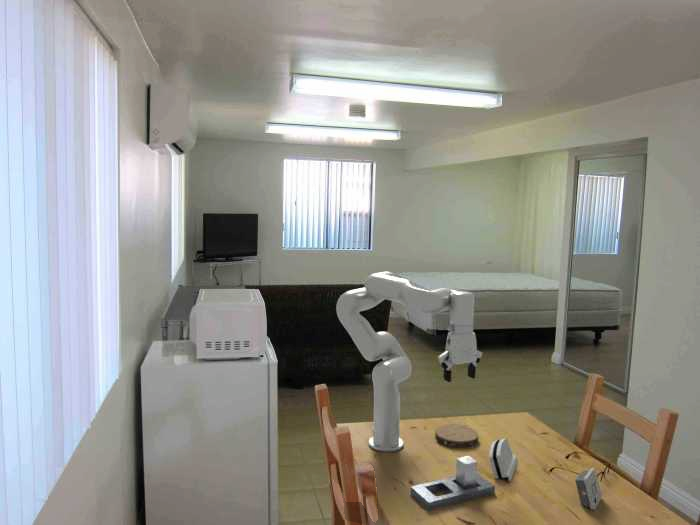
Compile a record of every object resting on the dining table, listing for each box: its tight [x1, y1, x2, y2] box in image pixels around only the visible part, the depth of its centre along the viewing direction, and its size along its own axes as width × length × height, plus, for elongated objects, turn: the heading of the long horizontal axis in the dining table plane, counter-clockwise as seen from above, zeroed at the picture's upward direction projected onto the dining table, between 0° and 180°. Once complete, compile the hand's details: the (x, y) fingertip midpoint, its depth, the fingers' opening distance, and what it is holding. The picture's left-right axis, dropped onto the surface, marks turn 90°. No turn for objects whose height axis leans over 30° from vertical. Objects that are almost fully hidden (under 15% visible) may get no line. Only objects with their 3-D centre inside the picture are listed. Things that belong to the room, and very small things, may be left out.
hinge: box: [488, 438, 519, 482], centre depth 189 cm, size 17×5×10 cm, turn 156°
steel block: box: [455, 455, 478, 490], centre depth 174 cm, size 4×4×10 cm
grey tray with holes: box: [410, 473, 496, 511], centre depth 172 cm, size 10×24×2 cm, turn 115°
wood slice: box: [434, 423, 479, 449], centre depth 212 cm, size 16×16×3 cm
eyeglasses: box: [549, 451, 612, 483], centre depth 188 cm, size 16×16×4 cm
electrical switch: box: [575, 467, 602, 511], centre depth 169 cm, size 9×5×9 cm, turn 143°
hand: (459, 379), depth 188 cm, fingers open, 9 cm apart
